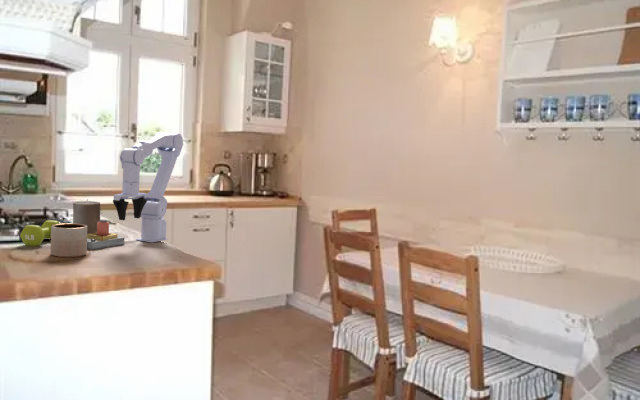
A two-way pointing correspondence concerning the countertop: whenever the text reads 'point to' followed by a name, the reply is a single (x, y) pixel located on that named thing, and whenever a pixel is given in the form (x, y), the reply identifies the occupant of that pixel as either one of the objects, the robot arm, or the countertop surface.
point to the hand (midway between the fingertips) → (129, 219)
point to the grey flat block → (103, 240)
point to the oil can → (103, 228)
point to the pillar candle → (87, 214)
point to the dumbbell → (37, 233)
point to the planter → (68, 240)
